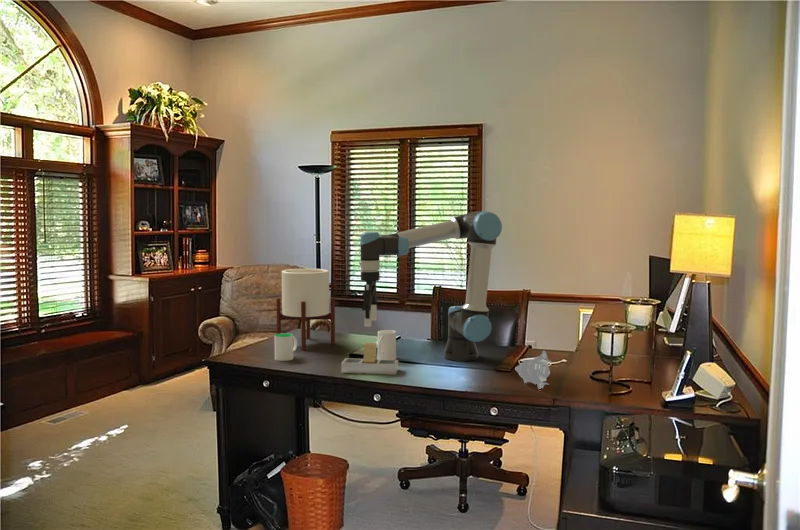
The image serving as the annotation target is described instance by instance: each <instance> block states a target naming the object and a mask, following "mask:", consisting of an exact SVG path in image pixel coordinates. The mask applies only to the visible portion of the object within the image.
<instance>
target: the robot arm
mask: <svg viewBox="0 0 800 530" xmlns="http://www.w3.org/2000/svg"><path fill="white" fill-rule="evenodd" d="M502 229H503V223H502V222H501V219H500V218H499V216H498V215H497V214H496V213H494V212H491V211H487V210H486V211H485V210H483V211H481V210H480V211H477V210H476V211H471V212H467V213H464V214H461V215H459V216H455V217H451V219H450V220H447V221H443V222H439V223H434V224H430V225H425V226H421V227H418V228H411V229H408V230H407V229H406V230H404V231H399V232H396V233H390V234H383V235H382V234H381V235H380V233H379V232H376V231H363V232H362V233H361V234H360V243H359V245H360V262H359V264H358V265H359V266H360V270H361V272H360V280H361V282H366V283H365V284H364V285H363V286H364V289H363V290H364V291H363V292H364V293H363V306H362V308H361V310H362V311H363V316H364V317H363V320H364V321H363V322H364V323H363V325H364V326H363V327H365V328H366V327H367V328H372V321H376V322H377V320H378V319H377V318H378V317H377V316H378V315H377V314H378V313H377V311H378V310H377V309H378V307H377V305H379V301H378V296H377V295H378V293H377V282H379V281H380V280H381V277H380V271H379V270H380V269H381V267H380V266H381V263H380V262H381V261H380V260H381V259H380V257H381V256H382V257H383V256H405V255H406V256H407V255H408V254H409V253H410V248H415V247H419V246H424V245H429V244H432V243H437V242H441V241H445V240H450V239H456V240H460V239H467V243H468V245H469V246H470V255H469V263H468V265H469V266H468V272H467V273H468V274H467V282H466V283H467V284H466V285H467V286H466V294H465V303H464V304H463V305H453V306H450V307H449V308H448V313H447V315H448V316H447V321H448V322H447V342H446V344H445V348H444V350H443V358H445V359H446V360H448V361H449V360H450V361H455V362H456V361H457V362H458V361H459V362H469V361H476V360H477V359H479V351H478V348H477V345H476V343H477V342H482V341H484V340H486V338H488V337H489V336H490V334H491V332H492V323H491V321H490V318H489V313H490V309H489V308H488V307H487V297H488V290H489V289H488V286H489V276H490V268H491V267H490V266H491V259H492V258H491V257H492V249H493V248H494V247H496V246H497V238H498V237H500V234H501V233H502Z"/></svg>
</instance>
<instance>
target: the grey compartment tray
mask: <svg viewBox="0 0 800 530" xmlns="http://www.w3.org/2000/svg"><path fill="white" fill-rule="evenodd" d="M340 367H341V368H340V369H341V371H340V372H341V373H342V374H343V373H344V374H363V373H365V374H366V375H367V374H369V375H391V376H393V375H397V373H398V371H399V359H395V360H384V359H377V358H376V363H364V358H353V357H350V358H348V357H347V358H346V357H345V358H344V359H343V360H342V362H341V366H340Z"/></svg>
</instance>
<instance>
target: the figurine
mask: <svg viewBox="0 0 800 530" xmlns="http://www.w3.org/2000/svg"><path fill="white" fill-rule="evenodd" d="M551 362H552V360H550V359H549V358H548V354H547V352H546V351H545V350H542V352H541V354H540V355H539V356H538V357H534V359H531V358H530V359H526V360H524V361H523V362H521V363H520V364H518V365H517V366H515V368H514V370H515V371H516V372H517V374H518V375H519V377H520V378H521V379H522V380H523V383H524V384H525V383H526V384H527V383H531V384H534V385H536V384H537V385H536V386H537V389H538V390H539V389H541V388H542V389H544V386H546V385H549V386H550V384H549V383H548V382H546V381H547V378H548V377H549V376H550V375H551V371H550V367H549V363H551Z"/></svg>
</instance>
